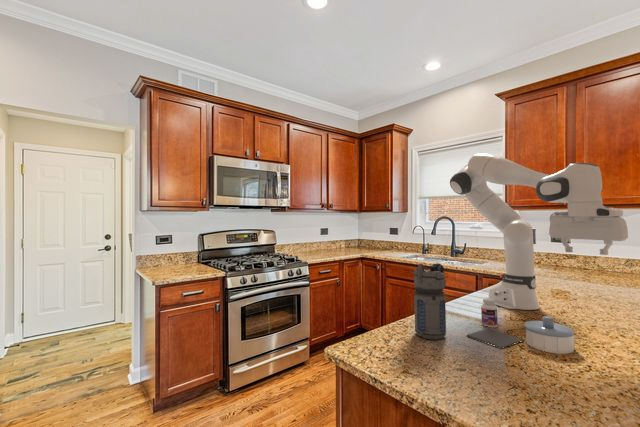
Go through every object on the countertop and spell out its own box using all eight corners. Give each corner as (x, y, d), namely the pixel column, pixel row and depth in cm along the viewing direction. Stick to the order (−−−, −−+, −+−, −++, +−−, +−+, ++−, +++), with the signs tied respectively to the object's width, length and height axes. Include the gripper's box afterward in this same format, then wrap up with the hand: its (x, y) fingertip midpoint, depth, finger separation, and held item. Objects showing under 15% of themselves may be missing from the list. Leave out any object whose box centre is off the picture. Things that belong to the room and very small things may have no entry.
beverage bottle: (456, 334, 109) (454, 262, 109) (433, 344, 101) (431, 266, 101) (430, 326, 117) (429, 259, 117) (407, 335, 109) (406, 263, 110)
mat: (466, 336, 107) (466, 334, 107) (488, 330, 113) (488, 328, 113) (501, 349, 96) (501, 347, 96) (523, 341, 102) (523, 339, 102)
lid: (516, 327, 101) (515, 315, 101) (537, 320, 107) (537, 309, 107) (560, 340, 90) (560, 327, 90) (582, 332, 96) (582, 319, 96)
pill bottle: (479, 325, 117) (479, 299, 118) (483, 322, 121) (483, 296, 122) (495, 328, 114) (495, 301, 114) (499, 325, 118) (498, 299, 118)
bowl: (518, 343, 101) (517, 327, 101) (539, 336, 106) (538, 321, 106) (561, 357, 90) (560, 339, 90) (581, 348, 96) (581, 332, 96)
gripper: (544, 212, 111) (545, 251, 111) (620, 210, 93) (621, 257, 93) (554, 212, 114) (555, 250, 114) (629, 210, 96) (630, 255, 96)
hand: (585, 253), depth 103 cm, fingers open, 8 cm apart
